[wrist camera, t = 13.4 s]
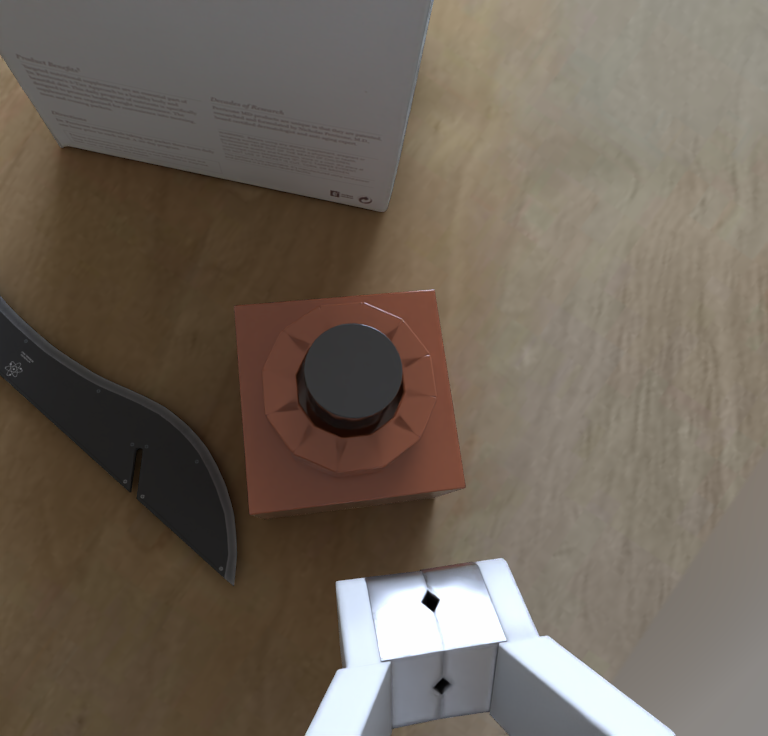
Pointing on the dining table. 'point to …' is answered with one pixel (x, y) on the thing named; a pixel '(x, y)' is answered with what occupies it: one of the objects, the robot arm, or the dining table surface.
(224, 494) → the knife
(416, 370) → the button base
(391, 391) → the dark grey cylinder
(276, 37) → the supplement box
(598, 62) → the dining table surface
